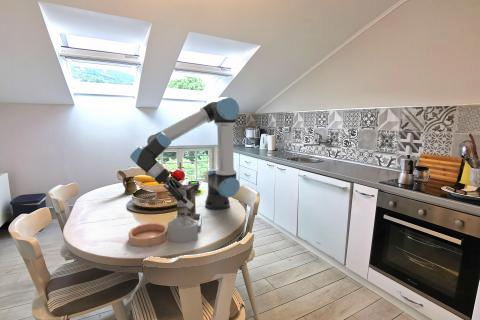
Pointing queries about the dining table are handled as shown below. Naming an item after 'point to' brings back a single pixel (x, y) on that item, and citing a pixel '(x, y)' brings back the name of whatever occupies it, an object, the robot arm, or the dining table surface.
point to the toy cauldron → (196, 186)
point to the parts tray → (198, 215)
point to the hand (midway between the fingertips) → (192, 203)
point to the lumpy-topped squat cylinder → (183, 229)
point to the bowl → (148, 234)
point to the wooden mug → (128, 183)
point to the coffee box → (190, 195)
